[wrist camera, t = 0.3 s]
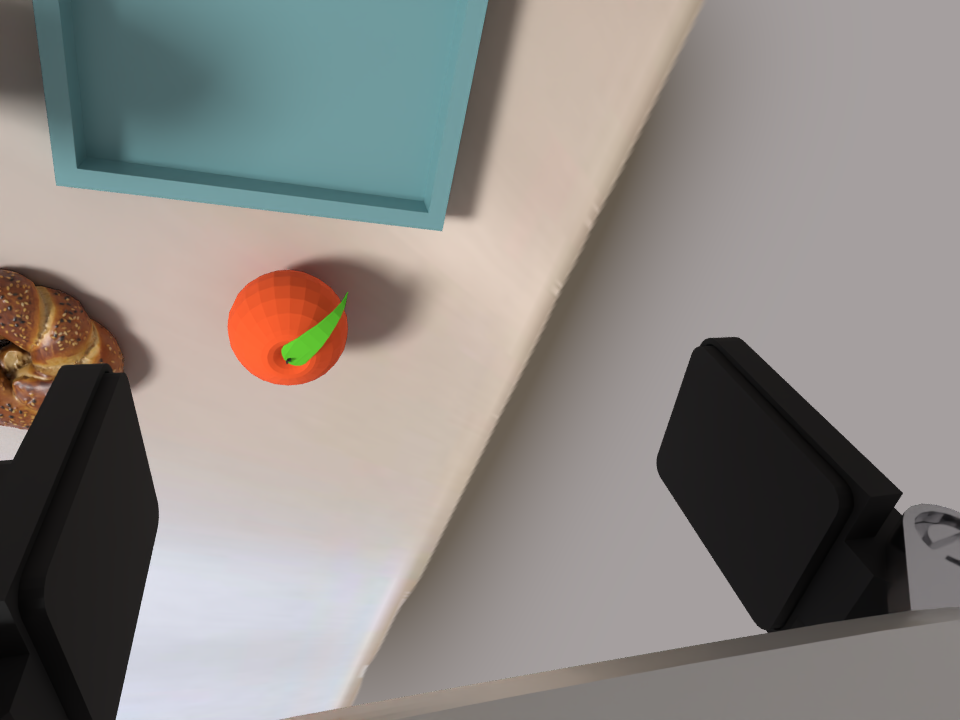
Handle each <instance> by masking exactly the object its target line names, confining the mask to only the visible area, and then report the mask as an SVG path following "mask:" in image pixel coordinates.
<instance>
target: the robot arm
mask: <svg viewBox="0 0 960 720" xmlns="http://www.w3.org/2000/svg"><path fill="white" fill-rule="evenodd" d="M657 470H658V473H659V475H660V477H661V479H662V480H663V482H664V484H665V485H666V486H667V488H668V490H669V491H670V493H671V494H672V496H673V497H674V499H675V501H676V502H677V504H678V505H679V507H680V508H681V510H682V511H683V513H684V514H685V516H686V517H687V519H688V520H689V522H690V524H691V525H692V527H693V528H694V530H695V531H696V533H697V534H698V536H699V538H700V539H701V541H702V542H703V544H704V545H705V547H706V548H707V549H708V551H709V553H710V554H711V556H712V558H713V559H714V561H715V562H716V564H717V565H718V567H719V568H720V570H721V571H722V573H723V574H724V576H725V578H726V579H727V580H728V582H729V583H730V585H731V587H732V588H733V590H734V591H735V593H736V595H737V596H738V598H739V599H740V600H741V602H742V604H743V605H744V607H745V608H746V610H747V611H748V613H749V614H750V616H751V618H752V619H753V620H754V622H755V623H756V624H757V626H759V627H760V628H761V629H764V630H766V631H767V632H768V633H766V634H759V635H754V636H748V637H742V638H736V639H731V640H724V641H718V642H712V643H707V644H700V645H695V646H689V647H683V648H677V649H672V650H666V651H660V652H654V653H648V654H643V655H637V656H632V657H625V658H620V659H614V660H608V661H603V662H597V663H591V664H585V665H580V666H574V667H568V668H563V669H557V670H551V671H546V672H540V673H535V674H529V675H523V676H518V677H512V678H506V679H500V680H495V681H489V682H484V683H479V684H472V685H467V686H461V687H456V688H450V689H445V690H439V691H434V692H428V693H423V694H417V695H412V696H406V697H401V698H395V699H390V700H384V701H378V702H373V703H367V704H362V705H356V706H351V707H345V708H340V709H334V710H329V711H323V712H318V713H312V714H306V715H301V716H296V717H291V718H286V719H281V720H960V513H959V512H957V511H955V510H952V509H949V508H946V507H942V506H938V505H932V504H931V505H930V504H919V505H914V506H911V507H910V508H908V509H907V510H906V511H905V512H904V514H903V515H901V514H900V513H899V512H898V511H897V510H896V509H895V508H894V506H895V505H896V503H897V502H898V500H899V499H900V497H901V495H902V494H903V493H902V492H901V491H900V490H899V489H898V488H897V487H896V486H895V485H894V484H893V483H892V482H891V481H890V480H889V479H888V478H886V477H885V475H884V474H882V473H881V472H880V471H879V470H878V469H877V468H876V467H875V466H874V465H873V464H872V463H871V462H870V461H869V460H868V459H867V458H866V457H865V456H864V455H862V454H861V453H860V452H859V451H858V450H857V449H856V448H855V447H854V446H853V445H852V444H851V443H850V442H849V441H848V440H847V439H846V438H845V437H844V436H843V435H842V434H841V433H839V432H838V431H837V430H836V429H835V428H834V427H833V426H832V425H831V424H830V423H829V422H828V421H827V420H826V419H825V418H824V417H823V416H822V415H821V414H820V413H819V412H818V411H816V410H815V409H814V408H813V407H812V406H811V405H810V404H809V403H808V402H807V401H806V400H805V399H804V398H803V397H802V396H801V395H800V394H799V393H797V391H795V390H794V389H793V388H792V387H791V386H790V385H789V384H788V383H787V382H786V381H785V380H784V379H783V378H782V377H781V376H780V375H779V374H778V373H776V371H775V370H773V369H772V368H771V367H770V366H769V365H768V364H767V363H766V362H765V361H764V360H763V359H762V358H761V357H760V356H759V355H758V354H757V353H756V352H755V351H754V350H752V349H751V348H750V347H749V346H748V345H747V344H746V343H745V342H744V341H743V340H742V339H740V338H737V337H726V338H708V339H705V340H704V341H703V342H702V344H701V345H700V346H699V347H697V348H695V349H694V350H693V353H692V355H691V358H690V361H689V364H688V367H687V370H686V372H685V375H684V378H683V381H682V384H681V387H680V390H679V393H678V396H677V399H676V402H675V405H674V408H673V411H672V414H671V417H670V420H669V423H668V426H667V429H666V432H665V435H664V438H663V441H662V444H661V447H660V450H659V453H658V456H657ZM158 520H159V509H158V501H157V497H156V493H155V489H154V485H153V480H152V476H151V472H150V468H149V464H148V460H147V456H146V451H145V447H144V443H143V439H142V435H141V431H140V426H139V422H138V418H137V414H136V410H135V406H134V401H133V397H132V393H131V389H130V385H129V381H128V378H127V376H126V374H125V373H124V372H120V373H113V370H112V368H111V366H110V365H109V364H107V363H98V364H74V365H63V366H61V368H60V369H59V371H58V373H57V375H56V377H55V378H54V380H53V382H52V384H51V386H50V388H49V390H48V392H47V394H46V396H45V398H44V400H43V402H42V404H41V406H40V408H39V410H38V412H37V414H36V416H35V418H34V420H33V422H32V424H31V426H30V428H29V430H28V432H27V433H26V435H25V437H24V439H23V441H22V443H21V445H20V447H19V449H18V451H17V453H16V455H15V457H14V459H13V460H4V461H0V720H116V715H117V711H118V706H119V702H120V697H121V692H122V688H123V683H124V679H125V674H126V670H127V665H128V660H129V656H130V651H131V647H132V642H133V638H134V633H135V629H136V624H137V619H138V615H139V610H140V606H141V601H142V597H143V592H144V587H145V583H146V578H147V574H148V569H149V565H150V560H151V555H152V551H153V546H154V542H155V537H156V533H157V528H158Z"/></svg>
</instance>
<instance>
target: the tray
mask: <svg viewBox="0 0 960 720" xmlns="http://www.w3.org/2000/svg"><path fill="white" fill-rule="evenodd" d="M32 1H33V9H34V16H35V24H36V32H37V40H38V48H39V55H40V63H41V71H42V79H43V86H44V94H45V102H46V110H47V118H48V125H49V133H50V141H51V149H52V156H53V164H54V172H55V180H56V185H57V186H66V187H74V188H83V189H91V190H99V191H108V192H116V193H125V194H133V195H142V196H150V197H159V198H167V199H175V200H184V201H192V202H201V203H209V204H218V205H226V206H234V207H243V208H251V209H260V210H268V211H277V212H285V213H294V214H302V215H310V216H319V217H327V218H336V219H344V220H353V221H361V222H369V223H378V224H386V225H395V226H403V227H412V228H420V229H429V230H437V231H442V229H443V224H444V219H445V214H446V209H447V204H448V199H449V194H450V189H451V184H452V179H453V174H454V169H455V164H456V159H457V154H458V149H459V144H460V139H461V134H462V129H463V124H464V119H465V114H466V109H467V104H468V99H469V94H470V89H471V84H472V79H473V74H474V69H475V64H476V59H477V54H478V49H479V44H480V39H481V34H482V29H483V24H484V19H485V14H486V9H487V4H488V0H32Z"/></svg>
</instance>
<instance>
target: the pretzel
mask: <svg viewBox="0 0 960 720" xmlns="http://www.w3.org/2000/svg"><path fill="white" fill-rule="evenodd" d="M1 339H8V340H9V341H11V342H12V343H9V344H8V345H6V346H4V347H1V348H0V425H2V426H10V427H15V428H19V429H26V430H29V428H30V426H31V424H32V422H33V420H34V418H35V416H36V414H37V412H38V410H39V408H40V406H41V404H42V402H43V400H44V398H45V396H46V394H47V392H48V390H49V388H50V386H51V384H52V382H53V380H54V378H55V377H56V375H57V373H58V371H59V369H60V368H61V366H63V365H74V364H98V363H107V364H109V365H110V366H111V368H112V370H113V373H120V372H123V366H124V364H123V362H124V358H123V357H122V355H123V354H122V353H121V350H120V348H119V346H118V344H117V342H116V339H115V338H114V337H113V336H112V334H111V333H110V332H109V331H108V330H107V329H106V328H104V327H103V326H102V325H100V324H99V323H98V322H96V321H94V320H92V319H90V318H89V317H88V315H87V313H86V312H85V310H84V309H83V307H82V305H81V304H80V302H79V301H77V300H75V299H74V298H73V297H71V296H70V295H68V294H66V293H64V292H61V291H60V290H54V289H51V288H48V287H44V286H35V285H34V283H33V282H32V281H31V280H29V279H27V278H26V277H25V276H23V275H20V274H18V273H17V272H13V271H9V270H1V269H0V340H1Z"/></svg>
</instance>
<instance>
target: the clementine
mask: <svg viewBox="0 0 960 720" xmlns="http://www.w3.org/2000/svg"><path fill="white" fill-rule="evenodd" d="M347 295H348V292H347V294H346V295H345V297H344V298H343V300H342V302H341V301H340V299H339V297H338V296H337V295H336V294H335V292H334V291H333V290H332V289H331V287H329V286H328V285H326V284H325V283H324V282H322V281H321V280H320V279H318V278H316V277H314V276H312V275H309V274H307V273H304V272H300V271H294V270H281V271H274V272H271V273H268V274H264V275H262V276H260V277H258V278H257V279H255V280H253V281H252V282H250V283H248V284H247V285H246V286H245V287H244V288H243V289H242V291H241V292H240V293H239V294H238V295H237V298H236V300H235V302H234V304H233V306H232V308H231V310H230V312H229V319H228V334H229V339H230V344H231V348H232V350H233V351H234V353H235V355H236V357H237V358H238V360H239V361H240V362H241V364H242V365H243V366H244V367H245V368H246V369H247V370H248V371H249V372H250V373H251V374H253V375H255V376H257V377H258V378H260V379H262V380H264V381H267V382H270V383H274V384H280V385H297V384H304V383H307V382H310V381H313V380H315V379H317V378H319V377H320V376H322V375H324V374H325V373H326V372H327V371H328V370H330V369H331V368H332V367H333V366H334V364H335V363H336V362H337V361H338V359H339V357H340V356H341V354H342V352H343V350H344V348H345V344H346V339H347V333H348V324H347V316H346V314H345V311H344V308H345V305H346V300H347Z"/></svg>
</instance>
